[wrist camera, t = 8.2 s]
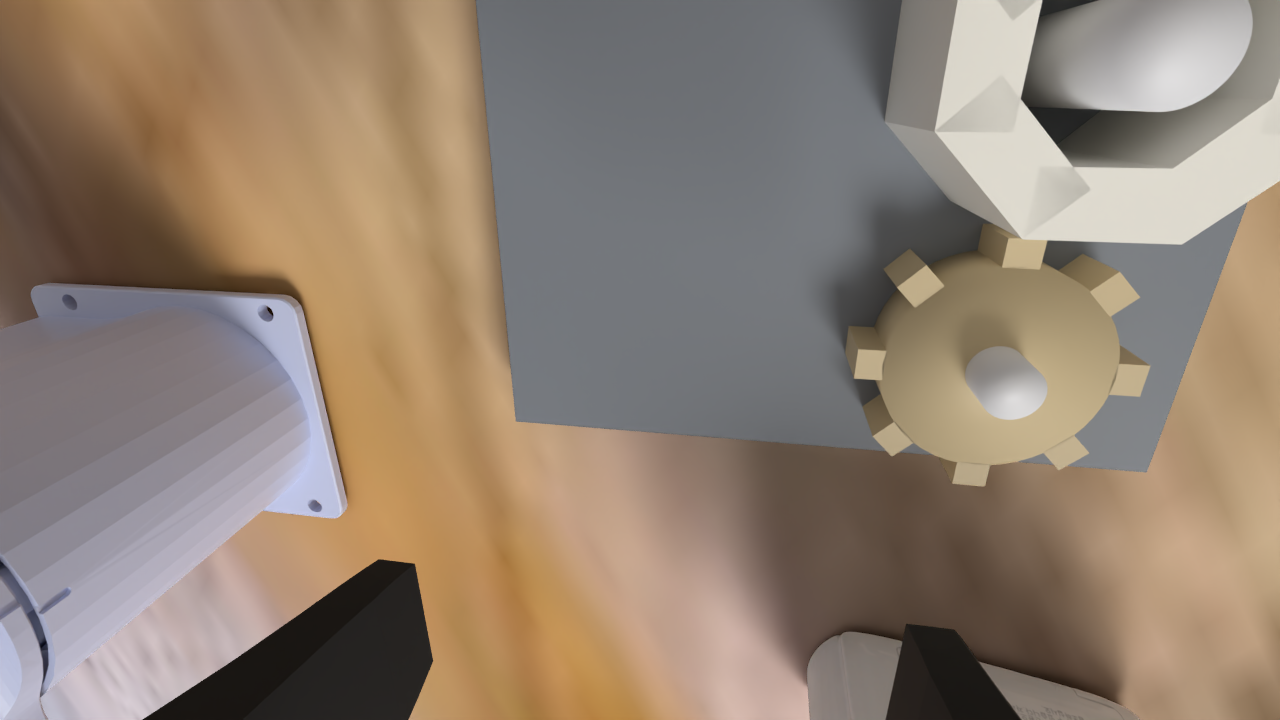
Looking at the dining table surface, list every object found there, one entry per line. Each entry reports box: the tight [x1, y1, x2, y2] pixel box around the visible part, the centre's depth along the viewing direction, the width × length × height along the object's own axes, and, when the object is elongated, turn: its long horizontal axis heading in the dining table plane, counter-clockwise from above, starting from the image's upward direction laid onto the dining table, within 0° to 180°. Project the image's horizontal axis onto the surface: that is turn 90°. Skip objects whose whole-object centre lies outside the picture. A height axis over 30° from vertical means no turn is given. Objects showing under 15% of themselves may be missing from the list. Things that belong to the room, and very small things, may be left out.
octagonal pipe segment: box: [885, 0, 1280, 245], centre depth 10 cm, size 5×5×4 cm
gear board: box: [476, 0, 1253, 487], centre depth 11 cm, size 16×18×6 cm
